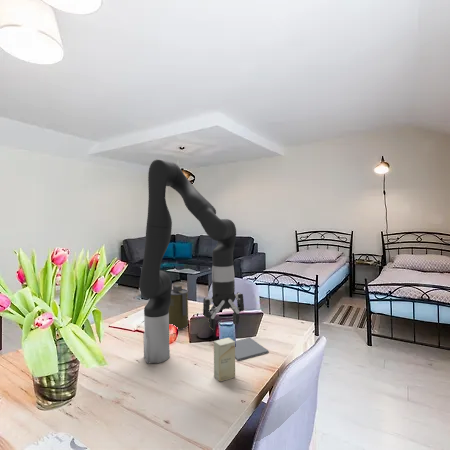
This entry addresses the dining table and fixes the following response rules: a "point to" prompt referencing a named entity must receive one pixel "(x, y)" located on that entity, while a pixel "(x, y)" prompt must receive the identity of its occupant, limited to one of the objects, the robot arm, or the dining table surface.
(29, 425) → the dining table surface
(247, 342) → the mat
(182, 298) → the canister
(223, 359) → the skincare box
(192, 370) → the dining table surface
